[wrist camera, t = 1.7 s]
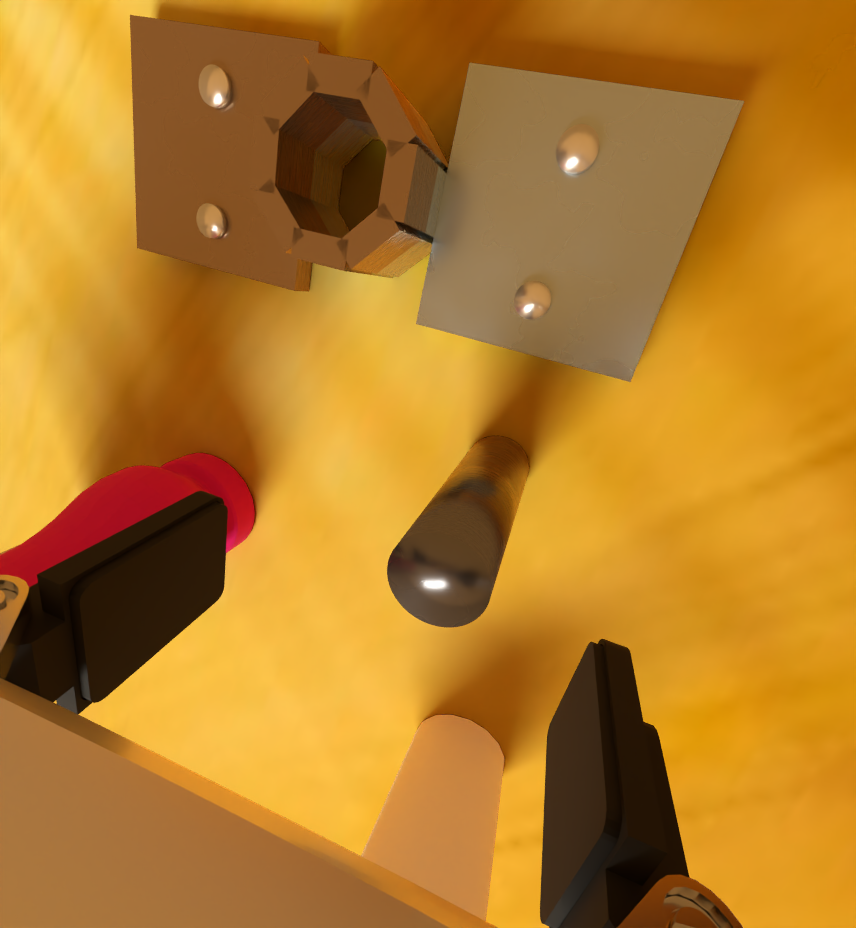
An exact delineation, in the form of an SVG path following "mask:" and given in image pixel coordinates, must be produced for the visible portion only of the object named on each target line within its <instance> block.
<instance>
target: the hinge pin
mask: <svg viewBox="0 0 856 928" xmlns="http://www.w3.org/2000/svg"><path fill="white" fill-rule="evenodd" d="M528 473H529V462H528V458H527V455H526V453H525V452H524V450H523V449H522V447H521V446H520V445H519V444H518V443H516V442H515V441H513V440H511V439H509V438H507V437H503V436H489V437H485V438H483V439H481V440H479V441H478V442H477V443H475V444H474V445H473V446H472V448H471V449H470V450H469V452H468V453H467V454H466V456H465V457H464V458H463V460H462V461H461V462H460V463H459V465H458V466H457V467H456V469H455V470H454V471H453V473H452V474H451V475H450V477H449V478H448V479H447V480H446V482H445V483H444V484H443V486H442V487H441V488H440V490H439V491H438V492H437V494H436V495H435V496H434V497H433V499H432V500H431V501H430V503H429V504H428V505H427V507H426V508H425V509H424V511H423V512H422V513H421V514H420V516H419V517H418V518H417V520H416V521H415V522H414V524H413V525H412V526H411V528H410V529H409V530H408V531H407V533H406V534H405V535H404V537H403V538H402V539H401V541H400V542H399V543H398V545H397V546H396V547H395V549H394V550H393V551H392V553H391V555H390V558H389V561H388V567H387V575H388V581H389V585H390V588H391V590H392V592H393V594H394V596H395V598H396V599H397V600H398V602H399V603H400V604H401V605H402V606H403V608H405V609H406V610H407V611H408V612H409V613H410V614H412V615H413V616H414V617H416V618H418V619H419V620H421V621H423V622H426V623H428V624H431V625H435V626H439V627H459V626H463V625H466V624H468V623H470V622H472V621H474V620H476V619H477V618H478V617H479V616H480V615H481V614H482V613H483V612H484V610H485V609H486V607H487V605H488V603H489V600H490V597H491V594H492V590H493V587H494V584H495V581H496V577H497V574H498V571H499V568H500V564H501V561H502V558H503V555H504V551H505V548H506V545H507V541H508V538H509V535H510V532H511V528H512V525H513V522H514V519H515V515H516V512H517V509H518V506H519V502H520V499H521V496H522V493H523V489H524V486H525V483H526V480H527V476H528Z"/></svg>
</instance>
